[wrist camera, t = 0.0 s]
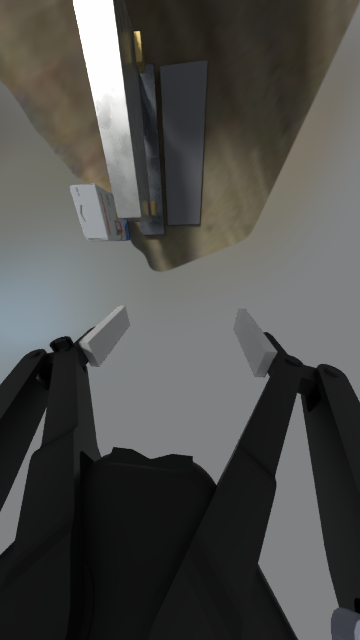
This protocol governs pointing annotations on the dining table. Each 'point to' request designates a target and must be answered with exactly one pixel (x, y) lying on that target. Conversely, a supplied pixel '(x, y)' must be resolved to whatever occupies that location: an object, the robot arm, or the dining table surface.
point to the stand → (150, 139)
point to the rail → (117, 102)
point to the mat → (183, 138)
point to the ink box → (98, 214)
